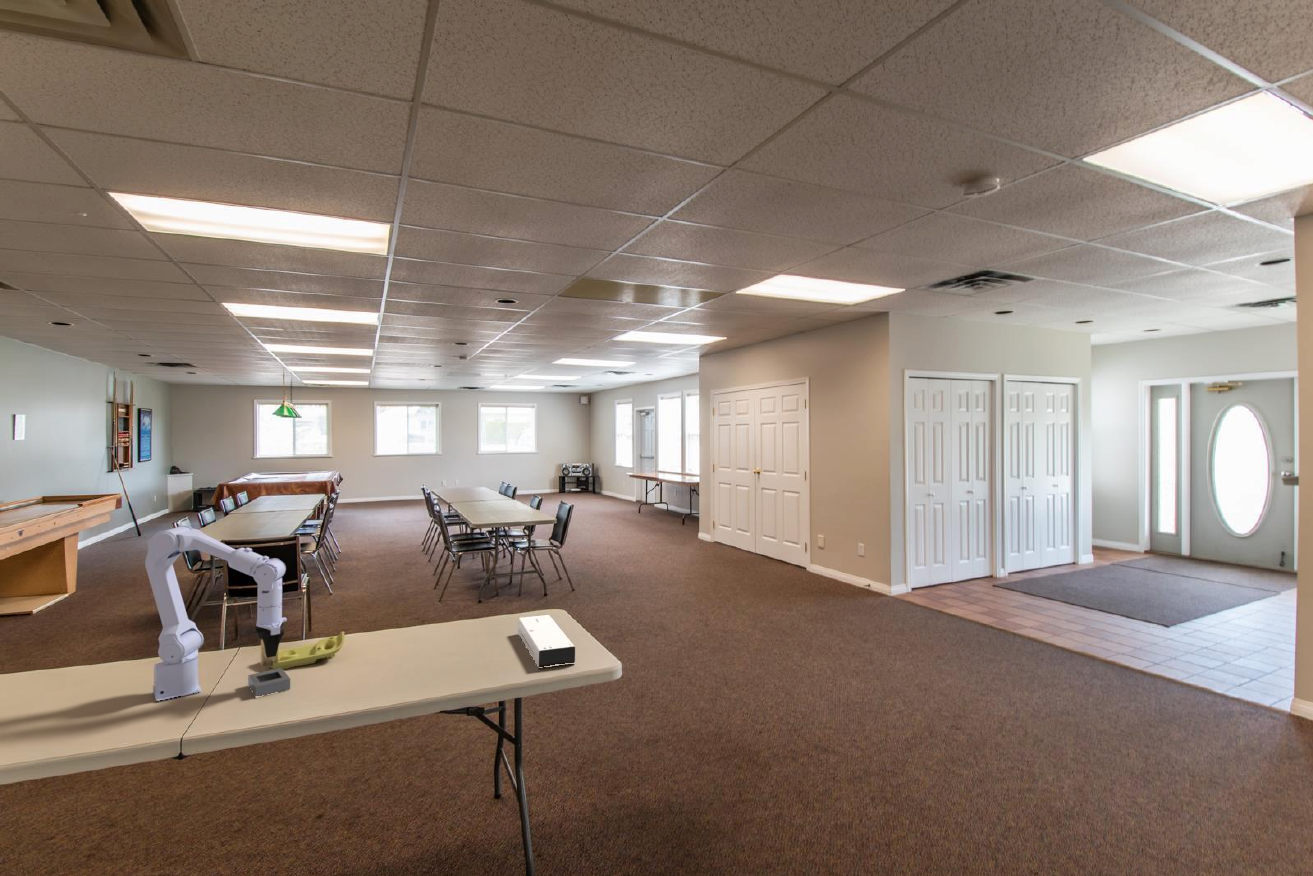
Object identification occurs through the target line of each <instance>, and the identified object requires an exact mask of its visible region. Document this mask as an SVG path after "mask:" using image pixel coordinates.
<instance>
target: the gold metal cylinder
mask: <svg viewBox="0 0 1313 876" xmlns="http://www.w3.org/2000/svg"><path fill="white" fill-rule="evenodd" d="M278 650H279V649H278ZM278 650H277V654H276V656H274V657H269V658H267V656H266V653H265V647H264V642H263V640H262V639H261V642H260V667H267V668H268V667H271V666H273V665H275V664H277V663H278Z"/></svg>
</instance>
